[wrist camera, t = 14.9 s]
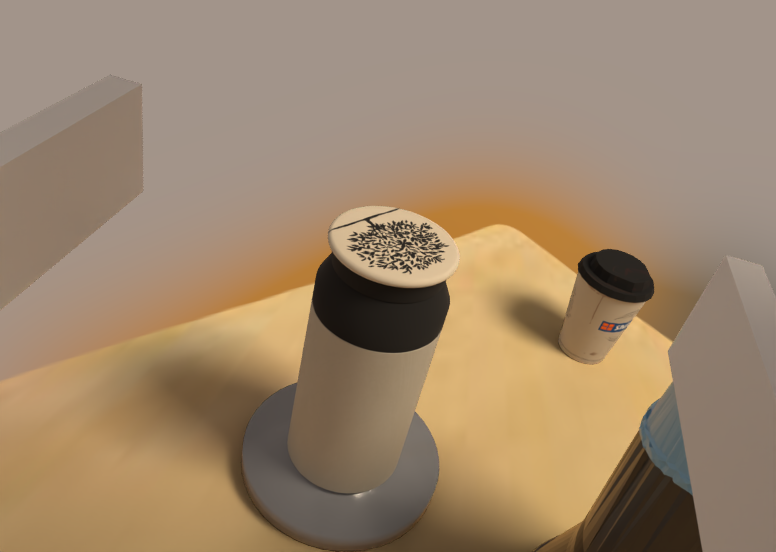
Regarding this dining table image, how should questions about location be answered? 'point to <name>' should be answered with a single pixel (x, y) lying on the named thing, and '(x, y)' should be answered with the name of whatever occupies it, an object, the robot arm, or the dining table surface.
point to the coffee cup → (603, 303)
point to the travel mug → (368, 345)
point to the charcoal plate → (327, 508)
